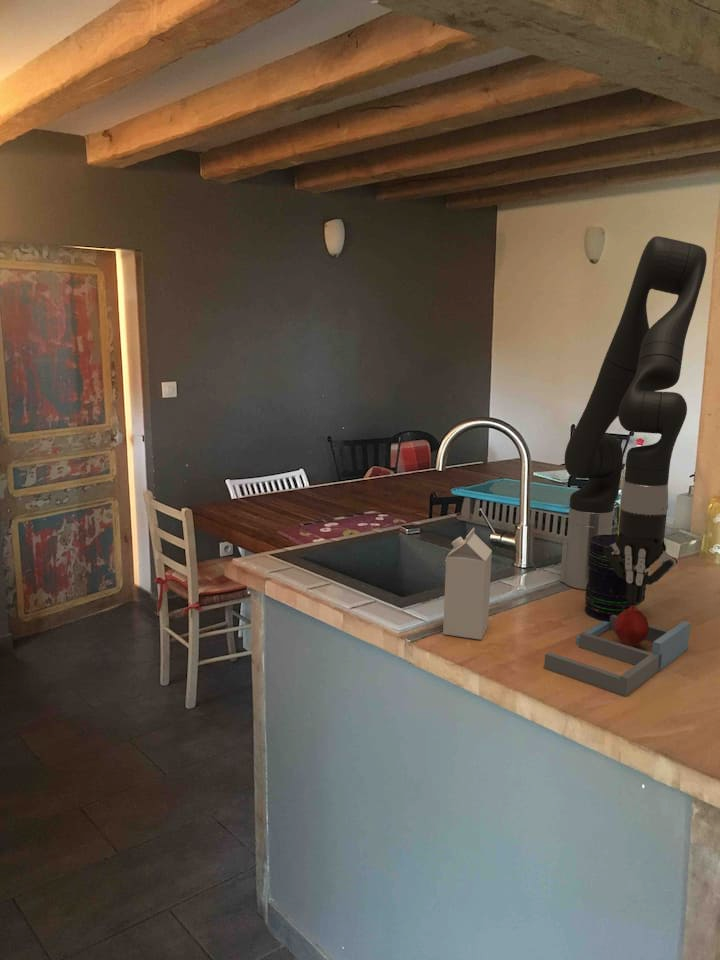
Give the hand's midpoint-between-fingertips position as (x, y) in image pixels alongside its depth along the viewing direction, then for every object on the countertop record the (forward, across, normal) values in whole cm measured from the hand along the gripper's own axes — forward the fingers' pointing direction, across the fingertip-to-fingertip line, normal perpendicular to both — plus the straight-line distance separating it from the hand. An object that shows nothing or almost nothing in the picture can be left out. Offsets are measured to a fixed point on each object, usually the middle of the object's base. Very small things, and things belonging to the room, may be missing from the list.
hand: (634, 603), depth 135 cm
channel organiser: (+8, 0, -6) cm, 10 cm away
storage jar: (+8, -10, +13) cm, 18 cm away
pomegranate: (+8, 0, 0) cm, 9 cm away
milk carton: (+8, -25, -15) cm, 31 cm away
